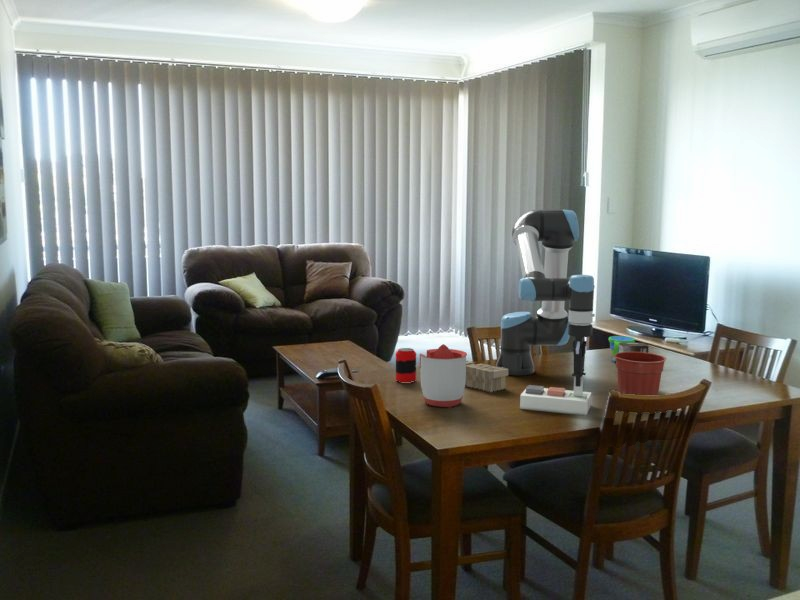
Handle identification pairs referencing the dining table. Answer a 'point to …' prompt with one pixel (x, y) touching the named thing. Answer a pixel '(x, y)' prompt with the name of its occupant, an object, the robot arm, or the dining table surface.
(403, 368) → the soda can
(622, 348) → the coffee box
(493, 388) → the block tower
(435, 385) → the citrus juicer
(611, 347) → the snack cup
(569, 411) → the key panel
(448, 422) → the dining table surface
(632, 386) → the flower pot
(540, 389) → the charcoal key
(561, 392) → the brick key
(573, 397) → the sage key
